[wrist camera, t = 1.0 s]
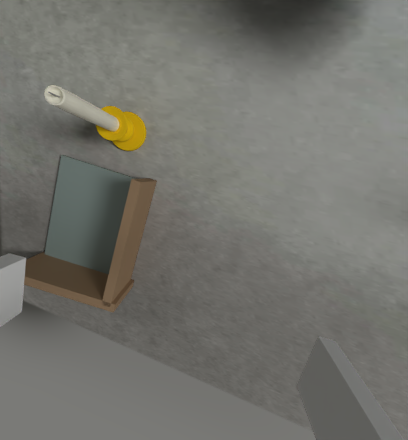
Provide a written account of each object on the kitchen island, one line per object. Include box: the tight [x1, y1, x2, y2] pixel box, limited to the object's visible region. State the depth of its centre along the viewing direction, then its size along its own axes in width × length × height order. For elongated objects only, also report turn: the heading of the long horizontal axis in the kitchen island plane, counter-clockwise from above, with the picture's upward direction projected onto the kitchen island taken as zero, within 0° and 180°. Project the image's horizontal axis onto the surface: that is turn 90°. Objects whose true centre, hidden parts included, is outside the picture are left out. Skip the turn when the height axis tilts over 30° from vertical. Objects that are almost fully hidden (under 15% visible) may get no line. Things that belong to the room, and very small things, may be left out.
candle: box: [44, 85, 146, 151], centre depth 24 cm, size 5×5×16 cm
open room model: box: [24, 155, 157, 312], centre depth 31 cm, size 18×15×7 cm
